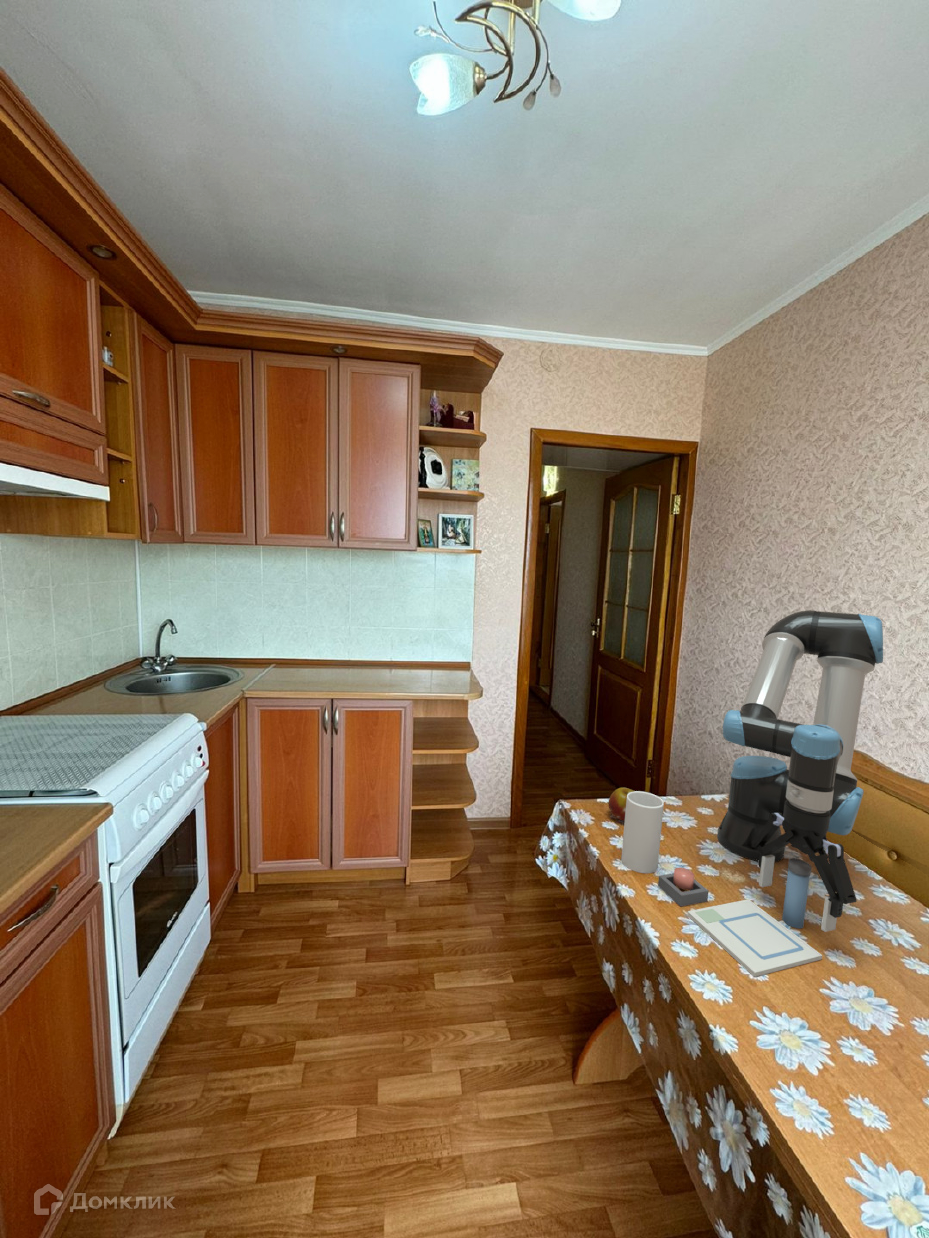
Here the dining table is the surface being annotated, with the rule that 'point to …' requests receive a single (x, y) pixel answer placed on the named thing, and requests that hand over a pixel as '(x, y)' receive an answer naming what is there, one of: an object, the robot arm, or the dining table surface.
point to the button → (683, 878)
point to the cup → (642, 831)
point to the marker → (796, 892)
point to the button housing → (683, 898)
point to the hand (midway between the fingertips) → (794, 906)
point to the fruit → (619, 802)
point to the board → (753, 937)
